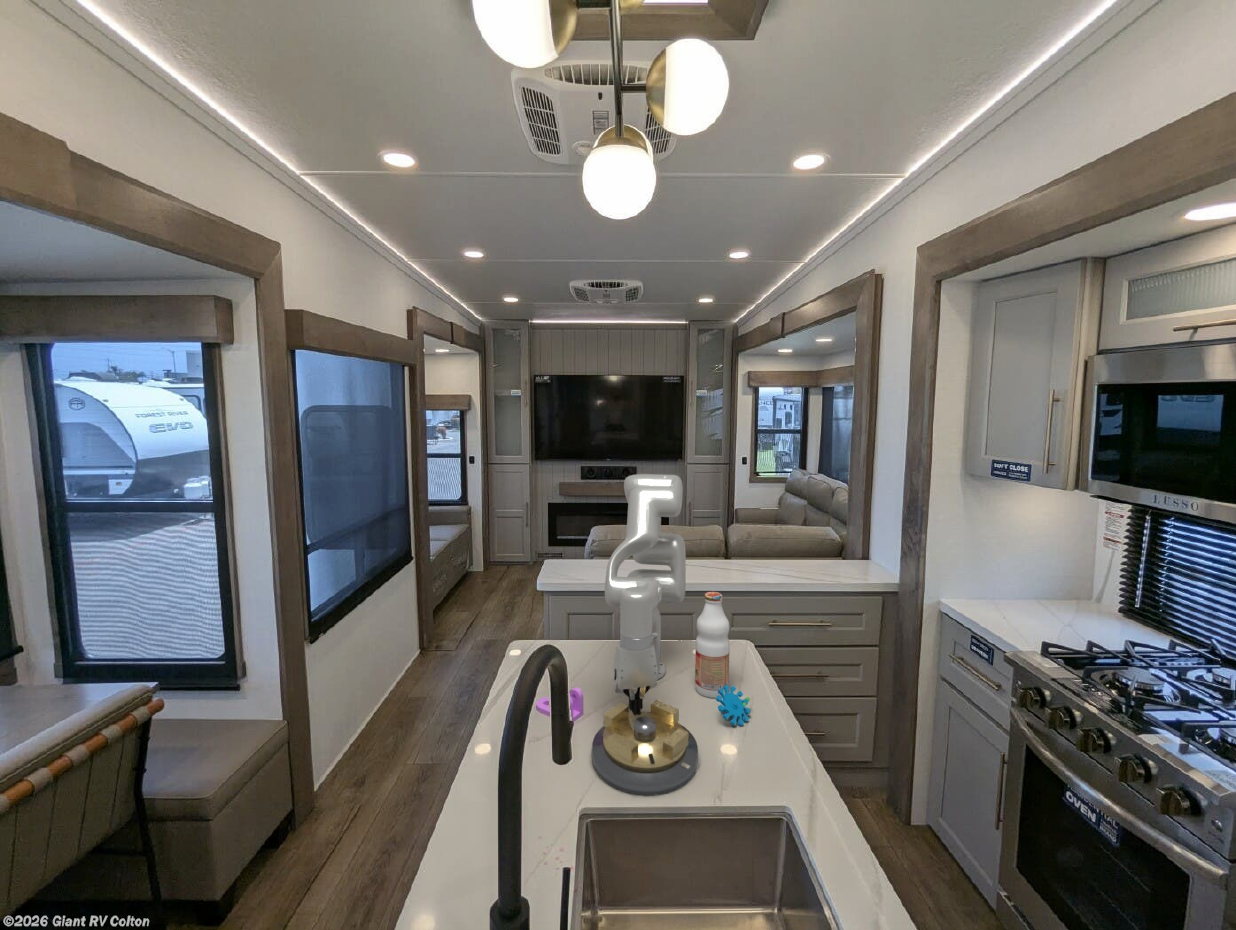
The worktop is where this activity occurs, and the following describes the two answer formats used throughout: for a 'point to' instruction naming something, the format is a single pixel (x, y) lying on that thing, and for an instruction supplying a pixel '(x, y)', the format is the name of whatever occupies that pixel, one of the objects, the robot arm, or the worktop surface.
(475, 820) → the worktop surface
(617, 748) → the four-jaw chuck
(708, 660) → the fruit juice
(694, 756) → the cap flange
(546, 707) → the bracket
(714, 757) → the worktop surface
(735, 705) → the gear
